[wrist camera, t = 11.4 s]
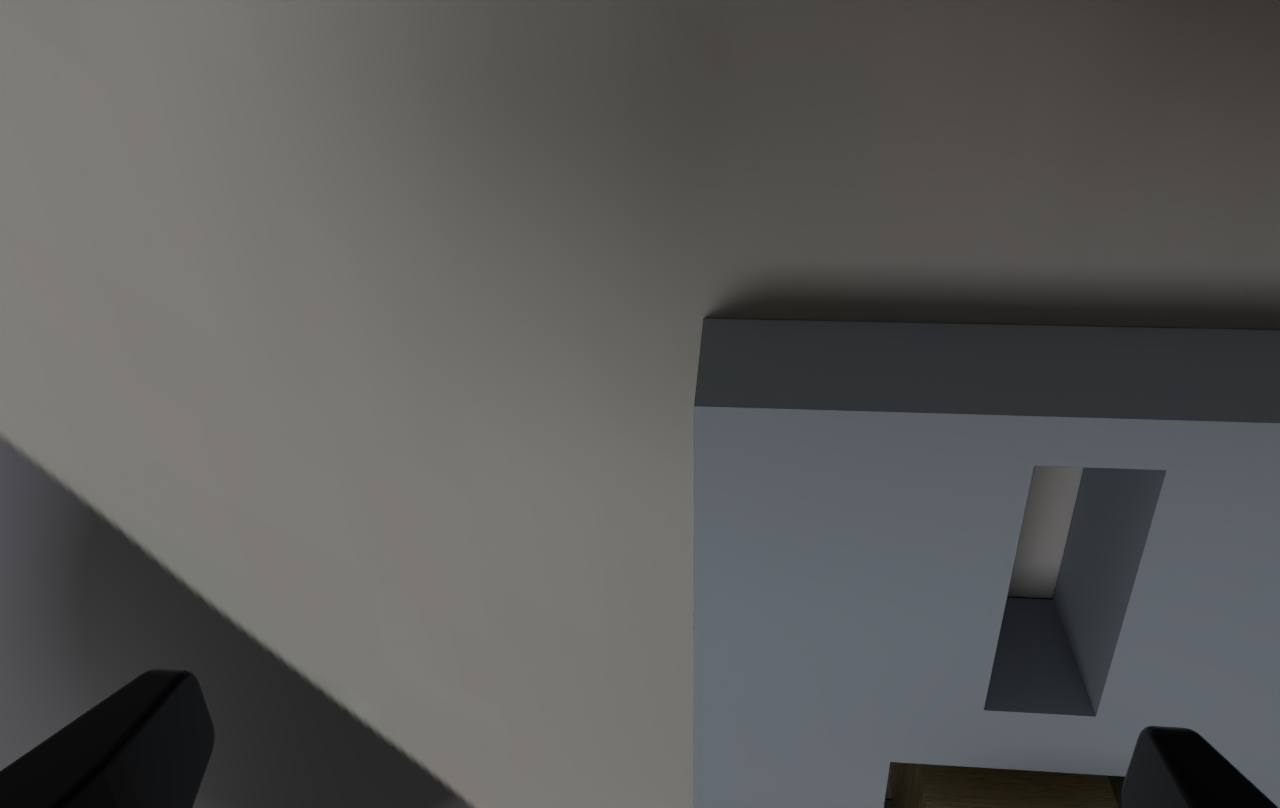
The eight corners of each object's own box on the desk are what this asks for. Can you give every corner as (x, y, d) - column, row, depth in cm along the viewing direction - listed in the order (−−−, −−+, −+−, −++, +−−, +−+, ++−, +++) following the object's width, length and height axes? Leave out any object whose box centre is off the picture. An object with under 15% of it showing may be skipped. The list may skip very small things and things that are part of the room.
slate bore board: (1440, 333, 19) (1565, 432, 16) (1218, 864, 28) (1275, 994, 25) (703, 318, 21) (693, 406, 18) (699, 828, 29) (693, 947, 26)
